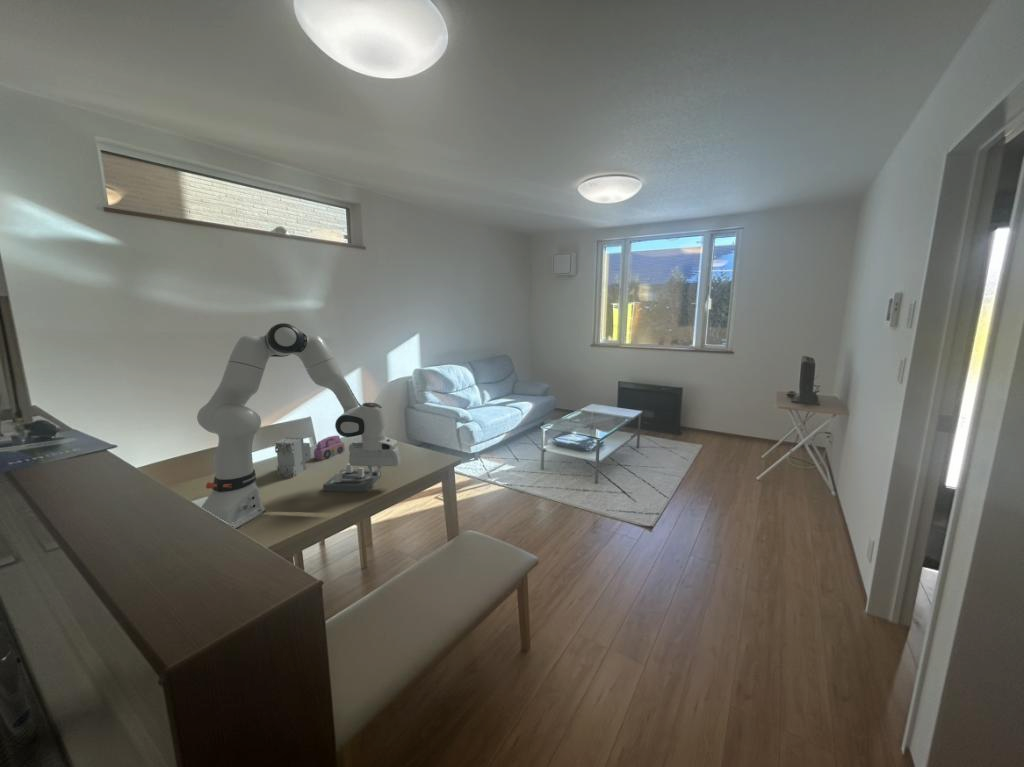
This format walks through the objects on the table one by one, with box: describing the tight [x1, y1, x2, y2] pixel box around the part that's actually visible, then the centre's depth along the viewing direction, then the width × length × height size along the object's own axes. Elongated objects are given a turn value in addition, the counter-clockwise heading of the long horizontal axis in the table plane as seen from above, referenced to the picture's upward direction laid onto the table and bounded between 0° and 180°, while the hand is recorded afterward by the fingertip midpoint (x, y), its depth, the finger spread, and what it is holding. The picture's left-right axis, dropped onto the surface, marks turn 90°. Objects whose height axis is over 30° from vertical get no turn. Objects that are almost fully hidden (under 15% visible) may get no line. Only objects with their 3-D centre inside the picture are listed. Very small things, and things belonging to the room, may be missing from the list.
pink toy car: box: [313, 434, 346, 461], centre depth 200 cm, size 18×6×10 cm, turn 157°
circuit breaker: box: [274, 436, 312, 478], centre depth 180 cm, size 8×14×15 cm, turn 174°
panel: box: [322, 469, 382, 493], centre depth 168 cm, size 16×17×3 cm
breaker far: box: [345, 462, 354, 473], centre depth 172 cm, size 2×2×4 cm
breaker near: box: [334, 471, 342, 482], centre depth 162 cm, size 2×2×4 cm
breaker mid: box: [357, 467, 365, 478], centre depth 167 cm, size 2×2×4 cm
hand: (375, 475), depth 167 cm, fingers closed
